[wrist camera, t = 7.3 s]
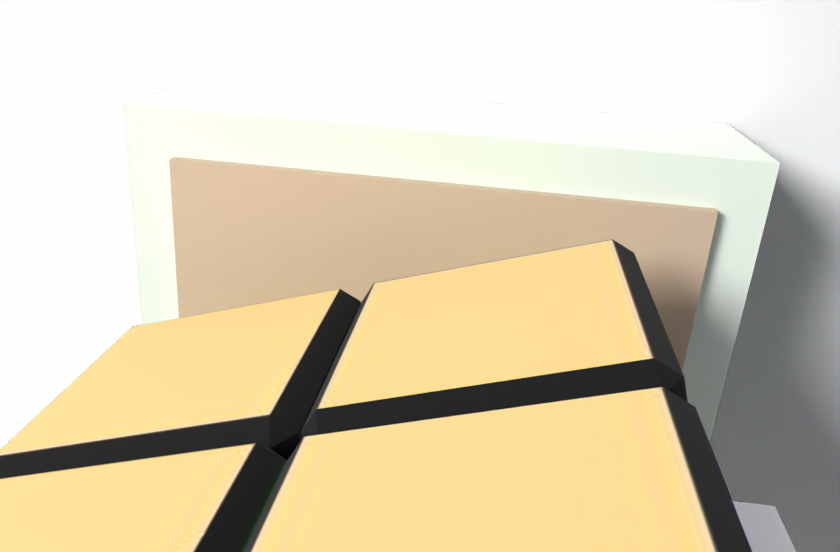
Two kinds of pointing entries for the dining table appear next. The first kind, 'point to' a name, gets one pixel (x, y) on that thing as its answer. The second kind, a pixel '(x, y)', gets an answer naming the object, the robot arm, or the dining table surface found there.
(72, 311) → the dining table surface
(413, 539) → the puzzle cube
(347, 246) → the plinth
